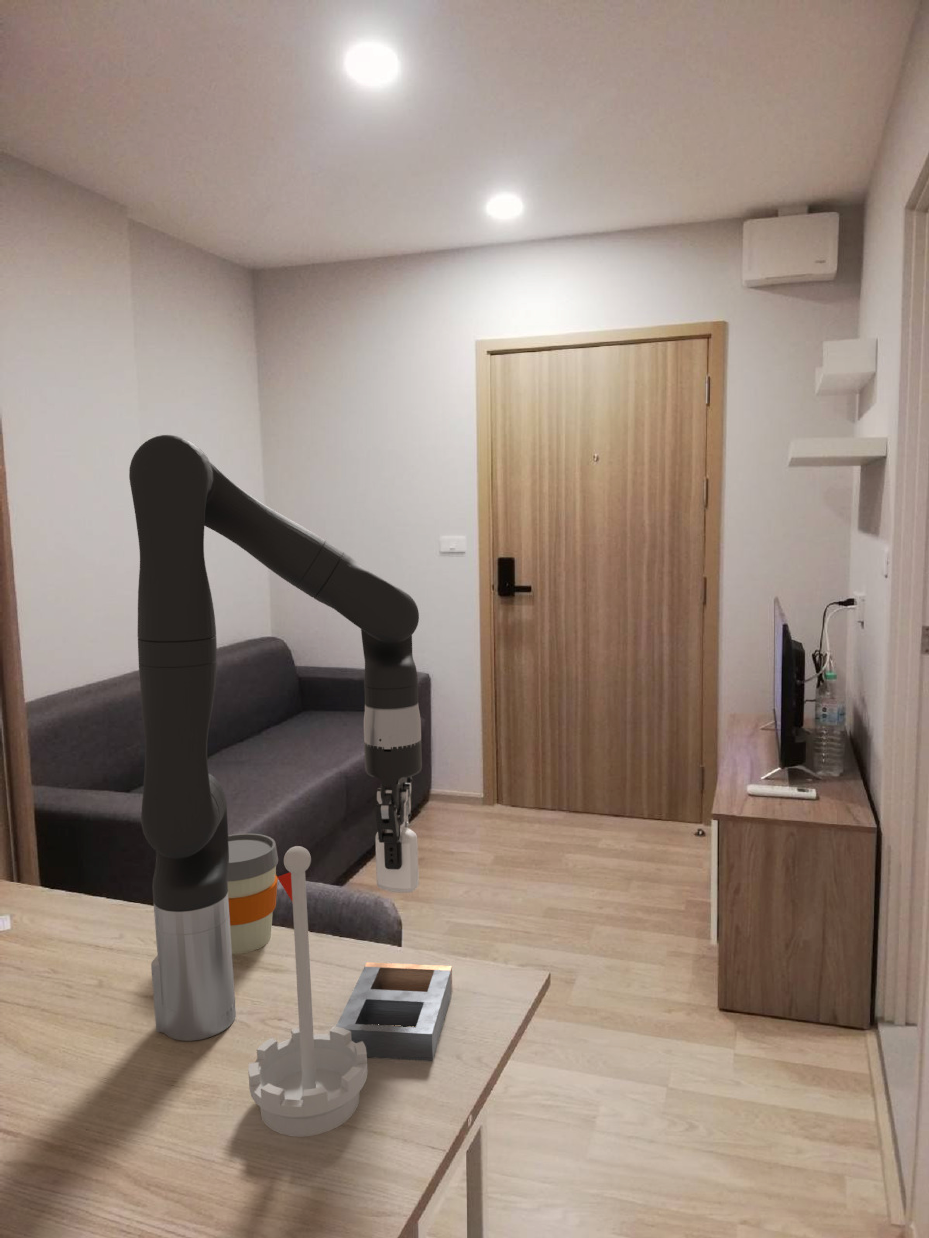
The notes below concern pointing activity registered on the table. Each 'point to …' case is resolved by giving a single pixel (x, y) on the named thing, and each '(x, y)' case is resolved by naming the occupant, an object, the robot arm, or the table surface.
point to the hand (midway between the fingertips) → (396, 861)
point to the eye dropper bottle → (408, 873)
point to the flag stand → (306, 1046)
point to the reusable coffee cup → (251, 890)
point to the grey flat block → (398, 1009)
